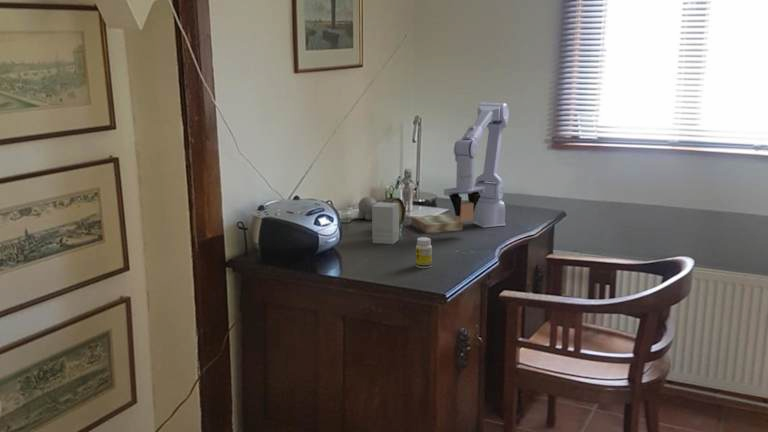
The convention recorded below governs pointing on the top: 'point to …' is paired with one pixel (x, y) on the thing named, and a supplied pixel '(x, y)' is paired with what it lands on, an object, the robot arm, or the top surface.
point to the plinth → (436, 223)
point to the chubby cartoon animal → (366, 208)
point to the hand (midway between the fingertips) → (464, 214)
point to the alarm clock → (401, 206)
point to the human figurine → (407, 189)
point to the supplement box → (385, 222)
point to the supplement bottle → (423, 253)
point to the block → (465, 211)
